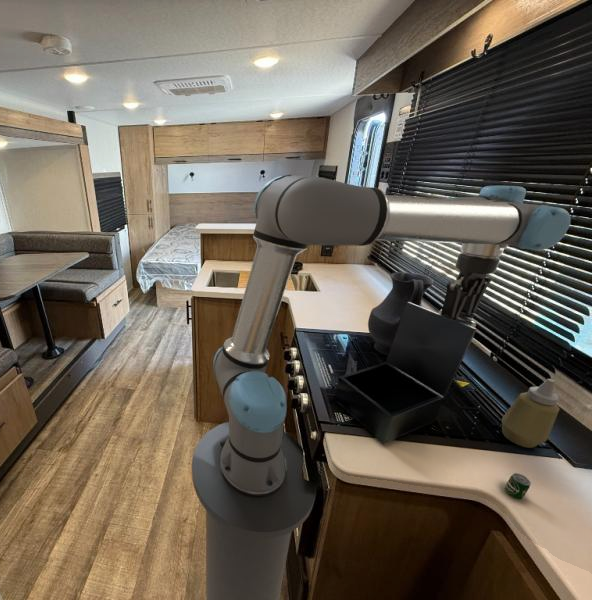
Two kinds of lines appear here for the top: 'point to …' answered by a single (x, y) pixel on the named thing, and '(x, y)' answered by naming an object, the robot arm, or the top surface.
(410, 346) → the compartment lid
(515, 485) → the beer can
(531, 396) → the squeeze bottle
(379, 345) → the pitcher
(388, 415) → the compartment
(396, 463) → the top surface
